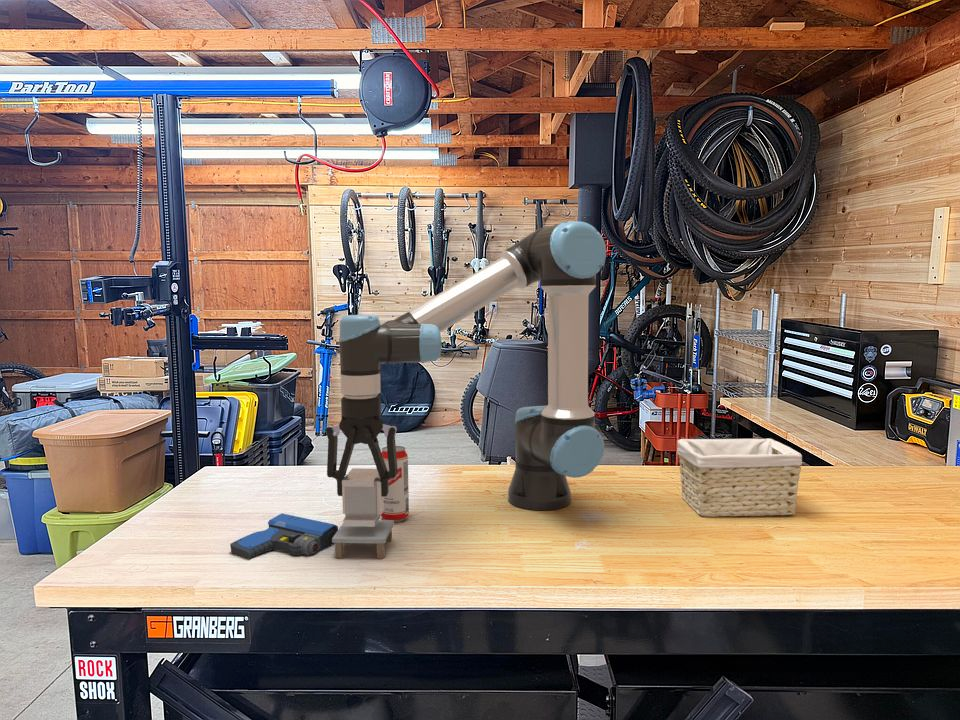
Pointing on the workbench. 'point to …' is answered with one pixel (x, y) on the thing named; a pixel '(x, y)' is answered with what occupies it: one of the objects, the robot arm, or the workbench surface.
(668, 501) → the workbench surface
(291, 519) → the stun gun
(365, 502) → the block
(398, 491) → the beer can
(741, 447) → the storage basket
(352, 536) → the stand
